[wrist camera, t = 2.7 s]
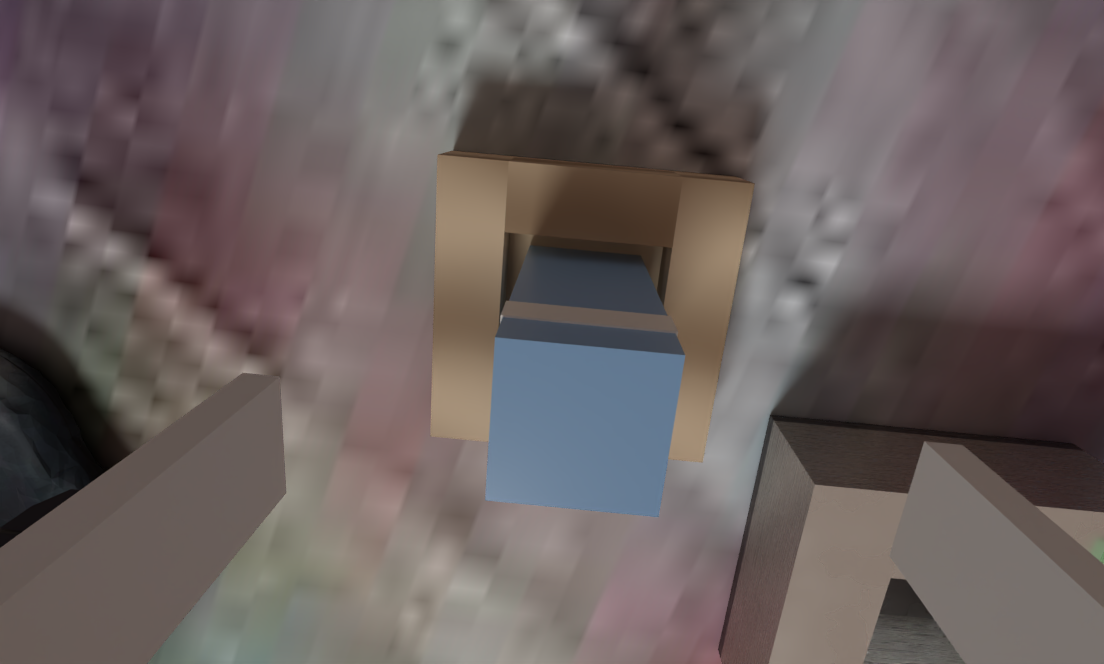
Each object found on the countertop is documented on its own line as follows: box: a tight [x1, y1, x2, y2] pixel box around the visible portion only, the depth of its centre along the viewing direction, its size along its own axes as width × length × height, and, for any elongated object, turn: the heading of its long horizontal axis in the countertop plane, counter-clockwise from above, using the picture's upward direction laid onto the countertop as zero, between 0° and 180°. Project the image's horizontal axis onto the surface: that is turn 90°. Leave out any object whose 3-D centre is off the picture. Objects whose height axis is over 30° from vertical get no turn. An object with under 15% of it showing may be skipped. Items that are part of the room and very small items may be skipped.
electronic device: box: [0, 349, 105, 527], centre depth 26 cm, size 9×6×15 cm
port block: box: [718, 415, 1104, 664], centre depth 24 cm, size 12×12×5 cm
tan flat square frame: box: [431, 151, 755, 462], centre depth 23 cm, size 10×10×2 cm
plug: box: [485, 245, 685, 517], centre depth 18 cm, size 4×4×10 cm
